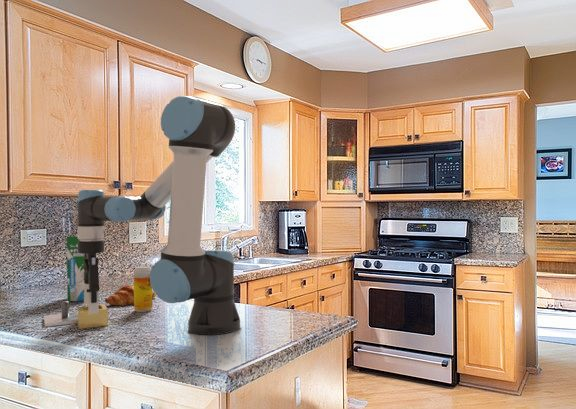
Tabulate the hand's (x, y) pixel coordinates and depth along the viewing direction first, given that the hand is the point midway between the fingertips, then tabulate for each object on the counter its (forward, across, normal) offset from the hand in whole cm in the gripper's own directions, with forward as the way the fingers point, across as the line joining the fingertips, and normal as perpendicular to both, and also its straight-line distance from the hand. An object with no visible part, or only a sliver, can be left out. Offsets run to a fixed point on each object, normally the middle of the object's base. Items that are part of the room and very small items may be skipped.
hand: (91, 308), depth 148 cm
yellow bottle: (+5, +11, -18) cm, 22 cm away
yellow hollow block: (+5, 0, 0) cm, 5 cm away
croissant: (+5, +28, -17) cm, 33 cm away
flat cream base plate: (+5, +10, +7) cm, 13 cm away
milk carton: (+6, +45, -1) cm, 45 cm away
